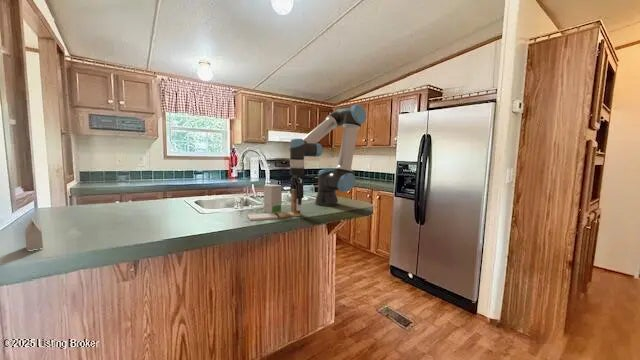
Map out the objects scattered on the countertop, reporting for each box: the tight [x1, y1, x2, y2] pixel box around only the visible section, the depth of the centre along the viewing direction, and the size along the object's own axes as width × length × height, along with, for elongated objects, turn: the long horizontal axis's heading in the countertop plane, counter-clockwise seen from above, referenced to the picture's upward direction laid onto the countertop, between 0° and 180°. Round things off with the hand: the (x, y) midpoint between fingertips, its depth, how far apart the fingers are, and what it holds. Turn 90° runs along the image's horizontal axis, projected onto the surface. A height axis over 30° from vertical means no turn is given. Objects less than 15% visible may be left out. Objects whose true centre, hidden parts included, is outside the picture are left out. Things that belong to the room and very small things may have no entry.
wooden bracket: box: [276, 189, 302, 218], centre depth 148 cm, size 12×6×14 cm, turn 114°
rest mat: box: [246, 213, 279, 222], centre depth 142 cm, size 14×9×1 cm, turn 114°
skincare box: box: [263, 184, 283, 214], centre depth 154 cm, size 8×7×16 cm
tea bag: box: [24, 217, 44, 251], centre depth 93 cm, size 4×7×10 cm, turn 48°
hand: (296, 208), depth 150 cm, fingers open, 8 cm apart
